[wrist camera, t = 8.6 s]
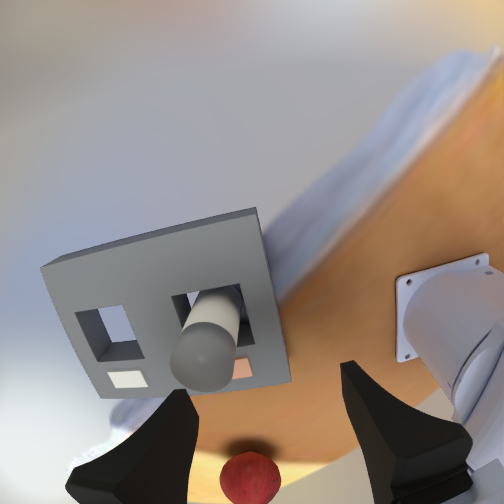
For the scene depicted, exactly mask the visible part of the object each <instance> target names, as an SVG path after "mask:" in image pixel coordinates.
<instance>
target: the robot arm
mask: <svg viewBox="0 0 504 504" xmlns="http://www.w3.org/2000/svg"><path fill="white" fill-rule="evenodd" d="M476 260H477V262H476ZM475 262H476V263H475ZM409 279H410V282H409V283H408V284H406V282H407V280H409ZM396 305H397V340H396V360H397V361H398V362H400V363H401V362H405V361H408V360H411V359H414V358H417V357H420V359H421V360H422V362H423V363H424V364H425V366H426V367H427V368H428V370H429V371H430V373H431V374H432V376H433V377H434V378H435V380H436V381H437V383H438V384H439V385H440V387H441V388H442V390H443V391H444V393H445V394H446V396H447V397H448V399H449V400H450V402H451V403H452V405H453V406H454V414H453V415H452V420H453V421H454V422H451V421H447V420H443V419H439V418H436V417H433V416H431V415H428V414H426V413H423V412H421V411H419V410H417V409H415V408H413V407H411V406H409V405H407V404H405V403H404V402H402V401H400V400H399V399H397V398H396V397H394V396H393V395H392V394H390V393H389V392H387V391H386V390H385V389H384V388H382V387H381V386H380V385H379V384H378V383H376V382H375V381H374V380H373V379H372V378H371V377H370V376H369V375H368V374H367V373H366V372H365V371H364V370H363V369H362V368H361V367H360V366H359V365H358V364H357V363H356V362H355V361H354V360H352V361H348V362H344V363H340V368H341V380H342V394H343V399H344V402H345V406H346V410H347V414H348V416H349V419H350V421H351V424H352V426H353V429H354V431H355V434H356V436H357V439H358V441H359V444H360V446H361V449H362V452H363V455H364V459H365V462H366V467H367V471H368V475H369V479H370V484H371V488H372V493H373V498H374V503H375V504H504V273H502V272H501V271H499V270H497V269H495V268H494V267H492V266H490V265H489V255H488V254H486V253H481V254H478V255H475V256H472V257H468V258H465V259H462V260H458V261H455V262H451V263H448V264H444V265H441V266H437V267H434V268H430V269H427V270H423V271H419V272H416V273H412V274H408V275H404V276H401V277H399V278H398V279H397V281H396ZM407 354H408V355H407ZM406 355H407V356H406ZM405 356H406V357H405ZM198 429H199V416H198V414H197V411H196V409H195V407H194V405H193V403H192V401H191V399H190V397H189V395H188V392H187V390H186V388H185V389H174V390H173V391H172V392H171V393H170V394H169V396H168V397H167V398H166V399H165V400H164V402H163V403H162V404H161V405H160V406H159V407H158V409H157V410H156V411H155V412H154V413H153V414H152V415H151V416H150V418H149V419H148V420H147V421H146V422H145V423H144V424H143V425H142V426H141V427H140V428H139V429H138V430H137V431H136V432H134V433H133V434H132V435H131V436H130V437H129V438H127V439H126V440H125V441H124V442H122V443H121V444H119V445H118V446H116V447H115V448H113V449H112V450H110V451H109V452H107V453H106V454H104V455H102V456H100V457H98V458H96V459H94V460H92V461H90V462H88V463H85V464H83V465H80V466H78V467H75V468H74V469H73V471H72V473H71V475H70V477H69V479H68V481H67V483H66V485H65V488H66V490H67V492H68V493H69V494H70V495H71V496H72V497H73V498H74V499H75V500H76V501H77V502H78V503H79V504H187V492H188V481H189V473H190V468H191V464H192V459H193V455H194V451H195V446H196V442H197V437H198Z"/></svg>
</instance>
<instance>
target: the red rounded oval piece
mask: <svg viewBox="0 0 504 504" xmlns="http://www.w3.org/2000/svg"><path fill="white" fill-rule="evenodd" d="M220 485H221V488H222V490H223V492H224V494H225V495H226V497H227V498H228V499H229V500H230V501H231V502H232V503H234V504H268V503H269V502H270V501H271V500H272V499H273V498H274V496H275V495H276V493H277V492H278V491H279V488H280V486H281V476H280V472H279V469H278V466H277V465H276V464H275V463H274V462H273V461H272V460H270V459H269V458H267V457H265V456H264V455H261V454H258V453H255V452H254V451H247V452H245V453H243V454H239V455H237V456H235V457H233V458H231V459H230V460H228V461H227V462H226V464H225V465H224V466H223V468H222V471H221V474H220Z"/></svg>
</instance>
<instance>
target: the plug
mask: <svg viewBox="0 0 504 504" xmlns="http://www.w3.org/2000/svg"><path fill="white" fill-rule="evenodd" d="M241 306H242V299H241V295H240V293H239V291H238V290H237V289H236V288H235V287H234V286H233V285H228V286H222V287H217V288H212V289H207V290H201V291H200V292H199V294H198V296H197V298H196V301H195V303H194V305H193V307H192V309H191V312H190V314H189V316H188V318H187V320H186V323H185V325H184V327H183V329H182V332H181V334H180V336H179V339H178V341H177V343H176V345H175V348H174V350H173V352H172V355H171V357H170V369H171V372H172V374H173V376H174V377H175V378H176V380H177V381H178V382H180V383H181V384H182V385H183V386H185V387H187V388H189V389H191V390H194V391H198V392H214V391H218V390H221V389H222V388H224V387H225V386H227V385H228V384H229V383H230V381H231V379H232V377H233V372H234V364H235V355H236V347H237V339H238V330H239V322H240V314H241Z"/></svg>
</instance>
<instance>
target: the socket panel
mask: <svg viewBox="0 0 504 504" xmlns="http://www.w3.org/2000/svg"><path fill="white" fill-rule="evenodd" d="M40 270H41V273H42V276H43V278H44V281H45V284H46V286H47V289H48V292H49V294H50V297H51V299H52V301H53V304H54V307H55V309H56V311H57V314H58V316H59V318H60V321H61V323H62V325H63V327H64V330H65V332H66V333H67V336H68V338H69V340H70V342H71V344H72V346H73V348H74V350H75V352H76V354H77V356H78V358H79V360H80V362H81V364H82V366H83V368H84V370H85V372H86V373H87V375H88V377H89V379H90V380H91V382H92V384H93V386H94V388H95V389H96V391H97V393H98V394H99V396H100V398H106V399H130V398H162V397H168V396H169V394H170V393H171V392H172V391H173V390H174V389H185V388H186V390H187V392H188V395H189V396H192V395H203V394H214V393H223V392H231V391H239V390H246V389H253V388H260V387H266V386H272V385H278V384H284V383H290V382H292V381H291V373H290V366H289V359H288V354H287V349H286V344H285V339H284V334H283V330H282V325H281V320H280V315H279V311H278V306H277V301H276V296H275V292H274V287H273V282H272V278H271V273H270V268H269V264H268V259H267V255H266V250H265V245H264V241H263V236H262V232H261V227H260V223H259V218H258V214H257V210H256V207H253V208H249V209H244V210H240V211H235V212H231V213H226V214H222V215H217V216H213V217H209V218H205V219H200V220H196V221H192V222H187V223H184V224H179V225H175V226H171V227H167V228H163V229H159V230H155V231H151V232H147V233H143V234H139V235H136V236H132V237H128V238H124V239H120V240H116V241H113V242H109V243H106V244H102V245H98V246H94V247H91V248H88V249H84V250H80V251H77V252H73V253H70V254H66V255H63V256H60V257H58V258H56V259H55V260H53V261H51V262H49V263H48V264H46V265H44V266H42V267H40ZM238 283H240V287H241V291H242V295H243V299H244V303H245V306H246V310H247V314H248V318H249V322H250V323H249V324H243V325H239V330H238V339H237V347H236V355H235V364H234V372H233V377H232V379H231V381H230V383H229V384H228V385H227V386H225V387H224V388H222V389H221V390H218V391H214V392H198V391H194V390H191V389H189V388H187V387H185V386H183V385H182V384H181V383H180V382H178V381H177V380H176V378H175V377H174V376H173V374H172V372H171V369H170V357H171V355H172V352H173V350H174V348H175V345H176V343H177V341H178V339H179V336H180V334H181V332H182V329H183V327H184V325H185V323H186V320H187V318H188V316H189V314H190V312H191V306H190V303H189V300H188V297H187V294H186V293H191V292H196V291H201V290H207V289H212V288H217V287H222V286H228V285H233V284H238ZM116 305H123V307H124V310H125V312H126V315H127V317H128V320H129V322H130V325H131V327H132V329H133V332H134V334H135V336H136V339H137V340H132V341H123V342H114V343H112V341H111V339H110V337H109V335H108V333H107V330H106V328H105V326H104V323H103V321H102V319H101V316H100V314H99V311H98V308H104V307H110V306H116Z"/></svg>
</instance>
